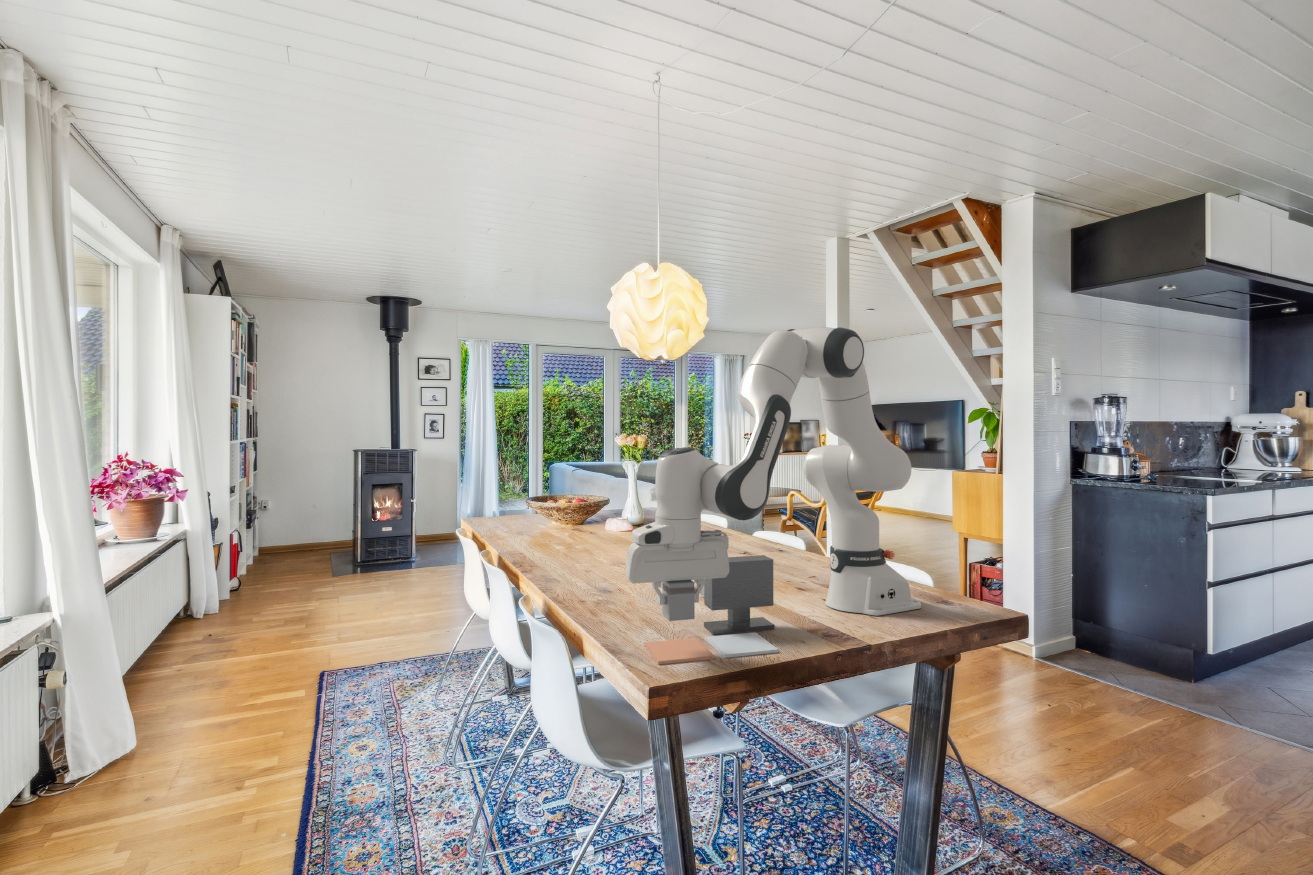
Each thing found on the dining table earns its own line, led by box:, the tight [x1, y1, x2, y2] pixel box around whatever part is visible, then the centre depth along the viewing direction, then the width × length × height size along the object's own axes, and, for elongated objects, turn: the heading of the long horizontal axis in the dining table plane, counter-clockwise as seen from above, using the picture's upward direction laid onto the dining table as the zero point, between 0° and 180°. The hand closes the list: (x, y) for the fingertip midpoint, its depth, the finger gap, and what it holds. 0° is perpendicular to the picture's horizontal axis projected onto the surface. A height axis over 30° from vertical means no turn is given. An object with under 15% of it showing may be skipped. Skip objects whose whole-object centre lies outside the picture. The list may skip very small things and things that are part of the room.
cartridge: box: [661, 580, 696, 622], centre depth 127 cm, size 5×5×7 cm
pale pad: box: [705, 631, 779, 659], centre depth 131 cm, size 11×11×1 cm
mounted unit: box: [703, 554, 775, 636], centre depth 142 cm, size 14×6×15 cm, turn 105°
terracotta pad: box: [643, 637, 716, 665], centre depth 127 cm, size 11×11×1 cm
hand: (678, 602), depth 127 cm, fingers closed on cartridge, 5 cm apart
